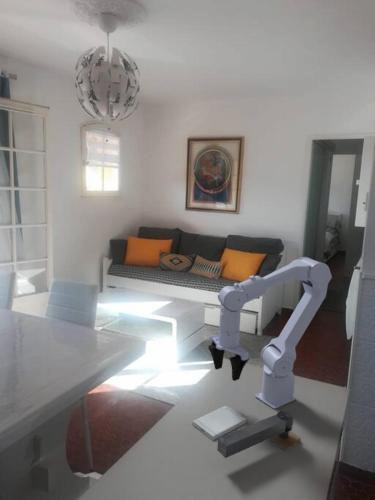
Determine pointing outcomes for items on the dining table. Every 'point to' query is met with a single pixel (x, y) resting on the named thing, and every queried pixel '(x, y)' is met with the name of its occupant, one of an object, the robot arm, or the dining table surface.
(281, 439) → the post mount
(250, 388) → the dining table surface
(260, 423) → the swing bar
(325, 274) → the robot arm
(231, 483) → the dining table surface
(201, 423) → the hard drive
